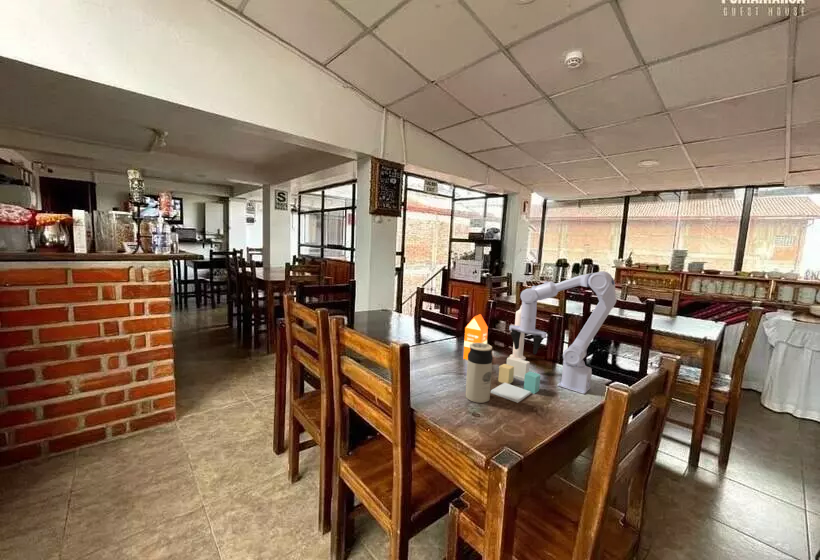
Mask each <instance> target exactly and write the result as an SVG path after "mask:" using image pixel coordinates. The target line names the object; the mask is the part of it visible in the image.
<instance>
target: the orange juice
mask: <svg viewBox="0 0 820 560" xmlns="http://www.w3.org/2000/svg"><path fill="white" fill-rule="evenodd" d="M488 329H489V326H488V325H487V323H486V321H485V320H484V318H483V316H482V314H481V313H480V314H478V315H477V314H476V315H475V316H473V318H472V319H471V320H470V321H469V323H467V325H466V326H465V327H464V340H463V341H464V342H463V357H462V358H463V360H464V359H466V360H465V361H468V353H469V352H470V347H469V345H470V344H471V343H485V344H488Z"/></svg>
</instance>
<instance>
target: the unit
mask: <svg viewBox="0 0 820 560" xmlns="http://www.w3.org/2000/svg"><path fill="white" fill-rule="evenodd" d="M530 363H531V362H530V361H528V360H526V359H525V360H521V359H518V358H514V357H510V356H508V357H507V358H506V364H507V365H510V366H514V375H513V379H516V380H518V381H522V382H524V379H525V374H526V373H528V372H529V371H530Z"/></svg>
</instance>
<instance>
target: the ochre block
mask: <svg viewBox="0 0 820 560" xmlns="http://www.w3.org/2000/svg"><path fill="white" fill-rule="evenodd" d="M513 375H514V366H510V365H507V363H503V364H501V365H499V367H498V379H497V380H498V381H497V382H499V383H501V384H503V383H504V382H505V383H508V384H510V385H511V384H512V383H514V378H513Z"/></svg>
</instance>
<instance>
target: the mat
mask: <svg viewBox="0 0 820 560" xmlns="http://www.w3.org/2000/svg"><path fill="white" fill-rule="evenodd" d="M490 394H493V395H496V396H498V397H501V398H504V399H506V400H508V401H509V400H510V401H512V402H515V403H517V404H518V403H520V402H521V401H523V400H524V399H526V398H527V397H528V396H530V395H531V394H532V393H531V391H528V390H525V389H524V388H522V387H518V386H517V385H512V384H511V383H510V384H508V383H505V382H504V383H501V384H499V385H497V386H495V388H492V389H490Z"/></svg>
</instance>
